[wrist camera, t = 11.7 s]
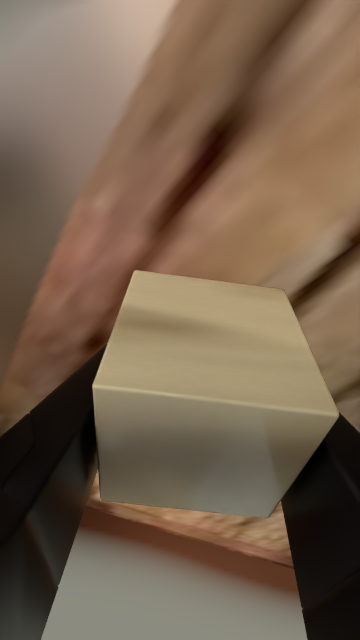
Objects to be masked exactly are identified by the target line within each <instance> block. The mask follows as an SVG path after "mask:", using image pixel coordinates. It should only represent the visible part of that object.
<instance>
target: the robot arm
mask: <svg viewBox="0 0 360 640" xmlns="http://www.w3.org/2000/svg"><path fill="white" fill-rule="evenodd" d="M107 344H108V343H107ZM107 344H106V345H105V346H104V347H103V348H102V349H100V350H99V351H98V352H97V353H96V354H95V355H94V356H92V357H91V358H90V359H89V360H88V361H87V362H86V363H85V364H83V365H82V366H81V367H80V368H79V369H78V370H77V371H75V372H74V373H73V374H72V375H71V376H70V377H69V378H68V379H66V380H65V381H64V382H63V383H62V384H61V385H60V386H58V387H57V388H56V389H55V390H54V391H53V392H52V393H51V394H49V395H48V396H47V397H46V398H45V399H44V400H43V401H41V402H40V403H39V404H38V405H37V406H36V407H35V408H34V409H32V410H31V411H30V414H27V415H25V416H24V417H23V418H22V419H21V420H20V421H19V422H17V423H16V424H15V425H14V426H13V427H12V428H10V429H9V430H8V431H7V432H6V433H4V434H3V435H2V436H1V437H0V640H41V637H42V634H43V631H44V628H45V625H46V622H47V619H48V616H49V613H50V610H51V608H52V604H53V602H54V599H55V596H56V593H57V590H58V585H59V583H60V580H61V577H62V574H63V571H64V568H65V565H66V562H67V559H68V557H69V554H70V550H71V548H72V545H73V542H74V539H75V535H76V533H77V530H78V527H79V524H80V521H81V518H82V515H83V512H84V509H85V506H86V503H87V500H88V497H89V494H90V491H91V488H92V485H93V482H94V479H95V476H96V473H97V470H98V458H97V444H96V430H95V416H94V402H93V388H92V385H93V382H94V380H95V377H96V374H97V371H98V369H99V366H100V363H101V360H102V358H103V355H104V352H105V349H106V347H107ZM281 503H282V508H283V513H284V518H285V524H286V529H287V534H288V539H289V544H290V550H291V555H292V560H293V565H294V570H295V575H296V581H297V586H298V591H299V596H300V601H301V606H302V608H303V609H302V613H303V618H304V623H305V628H306V633H307V638H308V640H360V433H359V432H358V431H357V430H356V429H355V428H354V427H353V426H352V425H351V424H350V423H349V422H348V421H347V420H346V419H345V418H344V417H343V416H342V415H341V414H340V413H339V417H338V419H337V420H336V422H335V423H334V425H333V426H332V427H331V429H330V430H329V432H328V433H327V435H326V436H325V438H324V439H323V440H322V442H321V443H320V445H319V446H318V448H317V449H316V450H315V452H314V453H313V455H312V456H311V458H310V459H309V460H308V462H307V463H306V465H305V466H304V468H303V469H302V471H301V472H300V473H299V475H298V476H297V478H296V479H295V481H294V482H293V483H292V485H291V486H290V488H289V489H288V491H287V492H286V493H285V495H284V496H283V498H282V499H281Z"/></svg>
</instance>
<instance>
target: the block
mask: <svg viewBox="0 0 360 640" xmlns="http://www.w3.org/2000/svg"><path fill="white" fill-rule="evenodd" d="M92 388H93V402H94V416H95V430H96V444H97V458H98V472H99V486H100V499H101V500H102V501H108V502H118V503H128V504H137V505H147V506H156V507H166V508H175V509H185V510H194V511H204V512H213V513H223V514H233V515H242V516H252V517H261V518H268V517H269V516H270V515H271V514H272V512H273V511H274V509H275V508H276V506H277V505H278V504H279V502H280V501H281V499H282V498H283V496H284V495H285V493H286V492H287V491H288V489H289V488H290V486H291V485H292V483H293V482H294V481H295V479H296V478H297V476H298V475H299V473H300V472H301V471H302V469H303V468H304V466H305V465H306V463H307V462H308V460H309V459H310V458H311V456H312V455H313V453H314V452H315V450H316V449H317V448H318V446H319V445H320V443H321V442H322V440H323V439H324V438H325V436H326V435H327V433H328V432H329V430H330V429H331V427H332V426H333V425H334V423H335V422H336V420H337V419H338V417H339V412H338V409H337V407H336V405H335V403H334V400H333V398H332V396H331V394H330V391H329V389H328V387H327V385H326V383H325V380H324V378H323V376H322V374H321V371H320V369H319V367H318V365H317V362H316V360H315V358H314V356H313V353H312V351H311V349H310V347H309V345H308V342H307V340H306V338H305V336H304V333H303V331H302V329H301V327H300V324H299V322H298V320H297V318H296V315H295V313H294V311H293V309H292V306H291V304H290V302H289V300H288V298H287V295H286V293H285V291H284V290H283V289H276V288H269V287H261V286H253V285H246V284H238V283H230V282H223V281H215V280H207V279H200V278H192V277H185V276H177V275H169V274H162V273H154V272H146V271H139V270H135V271H134V273H133V275H132V278H131V281H130V284H129V286H128V289H127V292H126V295H125V297H124V300H123V303H122V306H121V308H120V311H119V314H118V317H117V319H116V322H115V325H114V328H113V330H112V333H111V336H110V339H109V341H108V344H107V347H106V349H105V352H104V355H103V358H102V360H101V363H100V366H99V369H98V371H97V374H96V377H95V380H94V382H93V385H92Z"/></svg>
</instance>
